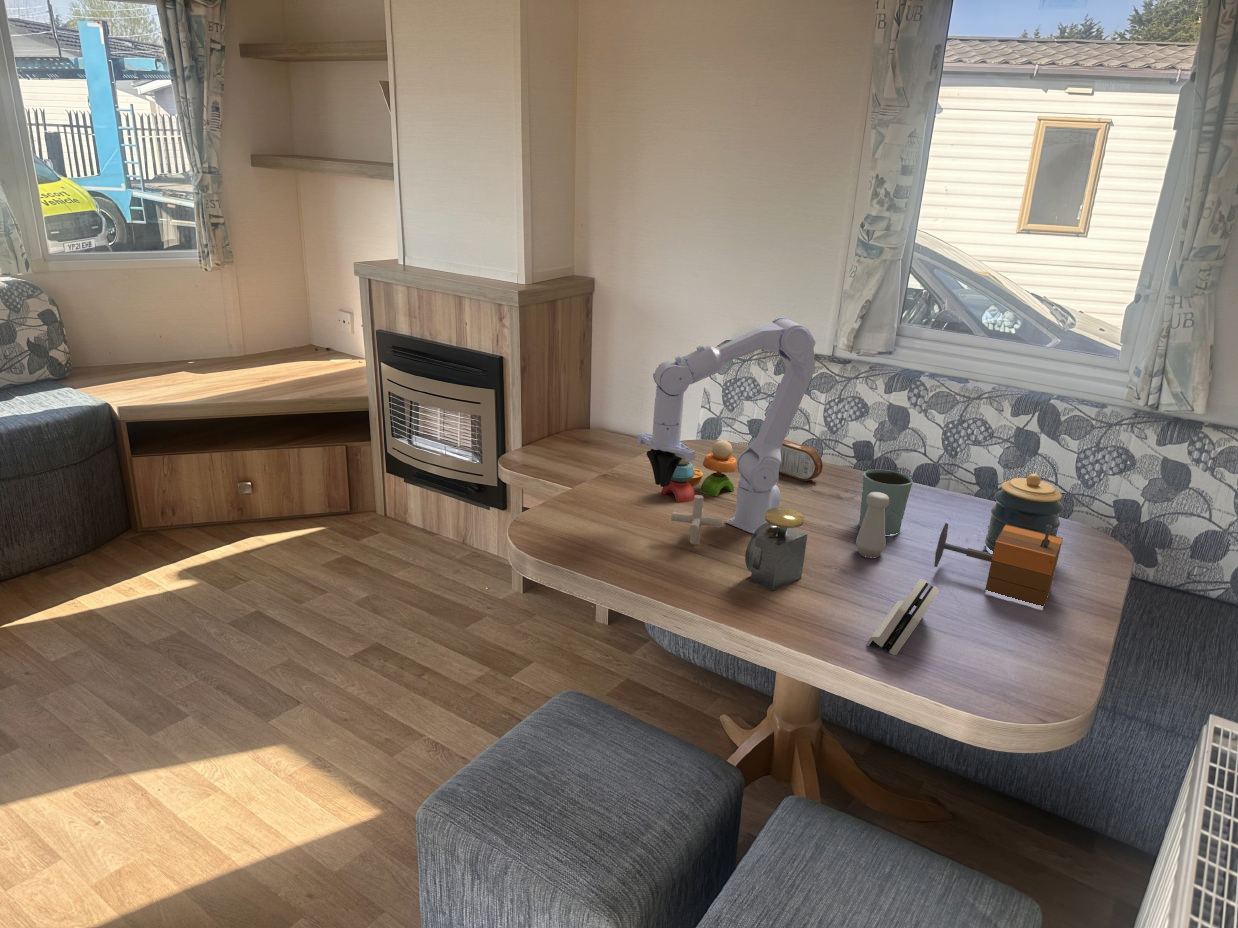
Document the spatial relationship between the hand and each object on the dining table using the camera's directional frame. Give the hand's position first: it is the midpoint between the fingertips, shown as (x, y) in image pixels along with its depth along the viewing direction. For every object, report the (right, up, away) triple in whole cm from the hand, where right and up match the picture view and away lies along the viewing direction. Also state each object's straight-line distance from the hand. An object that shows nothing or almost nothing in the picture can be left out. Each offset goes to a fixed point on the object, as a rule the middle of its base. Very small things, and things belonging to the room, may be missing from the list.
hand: (662, 484), depth 182 cm
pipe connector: (+6, -12, -4) cm, 14 cm away
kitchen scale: (+20, -17, -17) cm, 31 cm away
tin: (+34, +1, +39) cm, 52 cm away
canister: (+73, -15, +1) cm, 75 cm away
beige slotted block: (+39, -24, -34) cm, 57 cm away
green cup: (+48, -10, +10) cm, 50 cm away
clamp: (+62, -19, -14) cm, 66 cm away
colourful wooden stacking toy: (+7, -2, +26) cm, 27 cm away
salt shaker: (+42, -14, -4) cm, 44 cm away
